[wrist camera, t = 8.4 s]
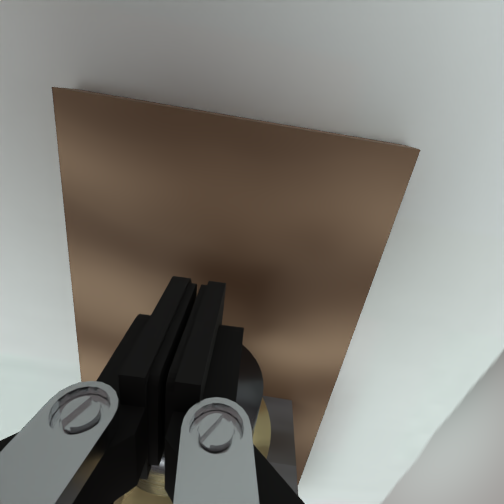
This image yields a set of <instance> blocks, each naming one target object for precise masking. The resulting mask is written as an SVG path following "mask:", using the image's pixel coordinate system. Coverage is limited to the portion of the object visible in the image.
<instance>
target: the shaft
mask: <svg viewBox="0 0 504 504" xmlns="http://www.w3.org/2000/svg"><path fill="white" fill-rule="evenodd" d="M263 388H264V386H263V377H262V372H261V369H260V367H259V364H258V363H257V361H256V359H255V358H254V356H253V355H252V353H251V352H250V351H249V350H248V349H247V348H246V347H245V346H244V345H242V352H241V361H240V370H239V379H238V388H237V397H236V403H237V404H238V405H239V406H241V407H242V408H243V409H244V411H245V412H246V414H247V415H248V417H249V420H250V424H251V429H252V439H253V444H254V445H255V446H256V448H257V449H258V450H259V451H260V452H261V453H262V455H263V456H264V457H265V458H266V459H267V455H268V451H269V446H270V438H271V425H270V418H269V413H268V410H267V407H266V404H265V401H264V399H263V397H262V396H263ZM164 457H165V449H164V452H163V456H162V459H161V462H160V464H159V466H155V465H152V466H151V469H150V473H149V476H148V479H147V480H146V479H139V482H138V485H137V486H136V487H134V488H133V489H131V490H130V491H129V492H127V493H126V494H124V498H123V501H122V504H173V503H172V501H171V499H170V498H169V496H168V494H167V492H166V491H165V489H164V488H165V466H164Z"/></svg>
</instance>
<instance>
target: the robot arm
mask: <svg viewBox="0 0 504 504" xmlns="http://www.w3.org/2000/svg"><path fill="white" fill-rule="evenodd" d="M225 291H226V283H222V282H215V281H209V282H208V284H207V285H203V284H201V286H200V289H199V292H198V294H197V284H195V283H192V281H191V278H185V277H178V276H173V277H172V278H171V280H170V282H169V284H168V285H167V287H166V289H165V291H164V293H163V294H162V296H161V298H160V300H159V302H158V303H157V305H156V307H155V309H154V311H153V312H152V314H151V315H145V314H139V315H137V317H136V318H135V319H134V321H133V323H132V324H131V326H130V327H129V329H128V331H127V332H126V334H125V335H124V337H123V339H122V340H121V342H120V343H119V345H118V347H117V348H116V350H115V351H114V353H113V355H112V356H111V358H110V360H109V361H108V363H107V364H106V366H105V368H104V369H103V371H102V372H101V374H100V376H99V377H98V379H97V380H96V381H86V382H80V383H77V384H74V385H71V386H68V387H67V388H65V389H63V390H61V391H59V392H58V393H57V394H56V395H54V396H53V397H52V398H51V399H50V400H49V401H48V402H47V403H46V404H45V405H44V406H43V407H42V408H41V409H40V410H39V411H38V412H37V414H36V415H35V416H34V417H33V418H32V419H31V420H30V421H29V422H28V423H27V424H26V425H25V426H24V427H23V428H22V430H21V431H20V432H18V433H16V434H14V435H12V436H10V437H7V438H5V439H3V440H1V441H0V504H122V501H123V498H124V494H126V493H127V492H129V491H130V490H131V489H133V488H134V487H136V486H137V485H138V482H139V479H146V480H147V479H148V476H149V473H150V469H151V466H152V465H155V466H159V464H160V462H161V459H162V456H163V452H164V449H165V457H164V466H165V488H164V489H165V491H166V492H167V494H168V496H169V498H170V499H171V501H172V503H173V504H305V503H304V502H303V501H302V500H301V499H300V498H299V496H298V495H297V494H296V493H295V492H294V491H293V489H292V488H291V487H290V486H289V485H288V484H287V482H286V481H285V480H284V479H283V478H282V477H281V476H280V474H279V473H278V472H277V471H276V470H275V469H274V467H273V466H272V465H271V464H270V463H269V462H268V460H267V459H266V458H265V457H264V456H263V455H262V453H261V452H260V451H259V450H258V449H257V448H256V446H255V445H254V444H253V439H252V429H251V424H250V420H249V417H248V415H247V414H246V412H245V411H244V409H243V408H242V407H241V406H239V405H238V404H237V403H236V397H237V388H238V379H239V370H240V361H241V352H242V343H243V333H244V328H242V327H235V326H228V325H222V318H223V309H224V300H225Z"/></svg>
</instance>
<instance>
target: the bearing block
mask: <svg viewBox="0 0 504 504" xmlns="http://www.w3.org/2000/svg"><path fill="white" fill-rule="evenodd" d="M52 93H53V103H54V113H55V122H56V132H57V142H58V152H59V162H60V172H61V182H62V192H63V202H64V212H65V222H66V232H67V242H68V252H69V262H70V272H71V282H72V292H73V302H74V312H75V322H76V332H77V342H78V352H79V362H80V372H81V382H86V381H96V380H97V379H98V377H99V376H100V374H101V372H102V371H103V369H104V368H105V366H106V364H107V363H108V361H109V360H110V358H111V356H112V355H113V353H114V351H115V350H116V348H117V347H118V345H119V343H120V342H121V340H122V339H123V337H124V335H125V334H126V332H127V331H128V329H129V327H130V326H131V324H132V323H133V321H134V319H135V318H136V317H137V315H139V314H145V315H151V314H152V312H153V311H154V309H155V307H156V305H157V303H158V302H159V300H160V298H161V296H162V294H163V293H164V291H165V289H166V287H167V285H168V284H169V282H170V280H171V278H172V277H173V276H178V277H185V278H191V281H192V283H195V284H197V294H198V292H199V289H200V286H201V284H203V285H207V284H208V282H209V281H215V282H222V283H226V291H225V300H224V309H223V318H222V325H228V326H235V327H242V328H244V333H243V343H242V345H244V346H245V347H246V348H247V349H248V350H249V351H250V352H251V353H252V355H253V356H254V358H255V359H256V361H257V363H258V364H259V367H260V369H261V372H262V377H263V386H264V388H263V396H262V397H263V399H264V401H265V404H266V407H267V410H268V413H269V418H270V425H271V438H270V446H269V451H268V455H267V460H268V462H269V463H270V464H271V465H272V466H273V467H274V469H275V470H276V471H277V472H278V473H279V474H280V476H281V477H282V478H283V479H284V480H285V481H286V482H287V484H288V485H289V486H290V487H291V488H292V489H293V491H294V492H295V493H296V494H297V495H298V484H299V481H300V478H301V475H302V473H303V470H304V467H305V465H306V462H307V459H308V456H309V454H310V451H311V448H312V445H313V443H314V440H315V437H316V434H317V432H318V429H319V426H320V423H321V421H322V418H323V415H324V412H325V410H326V407H327V404H328V402H329V399H330V396H331V393H332V391H333V388H334V385H335V382H336V380H337V377H338V374H339V371H340V369H341V366H342V363H343V360H344V358H345V355H346V352H347V350H348V347H349V344H350V341H351V339H352V336H353V333H354V330H355V328H356V325H357V322H358V319H359V317H360V314H361V311H362V308H363V306H364V303H365V300H366V297H367V295H368V292H369V289H370V287H371V284H372V281H373V278H374V276H375V273H376V270H377V267H378V265H379V262H380V259H381V256H382V254H383V251H384V248H385V245H386V243H387V240H388V237H389V235H390V232H391V229H392V226H393V224H394V221H395V218H396V215H397V213H398V210H399V207H400V204H401V202H402V199H403V196H404V193H405V191H406V188H407V185H408V182H409V180H410V177H411V174H412V172H413V169H414V166H415V163H416V161H417V158H418V155H419V152H420V150H419V149H416V148H412V147H409V146H406V145H400V144H394V143H388V142H383V141H377V140H371V139H365V138H359V137H353V136H347V135H341V134H336V133H330V132H324V131H318V130H312V129H306V128H300V127H295V126H289V125H283V124H277V123H271V122H265V121H259V120H254V119H248V118H242V117H236V116H230V115H224V114H218V113H213V112H207V111H201V110H195V109H189V108H183V107H177V106H172V105H166V104H160V103H154V102H148V101H142V100H136V99H131V98H125V97H119V96H113V95H107V94H101V93H95V92H89V91H84V90H78V89H69V88H58V87H52Z"/></svg>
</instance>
